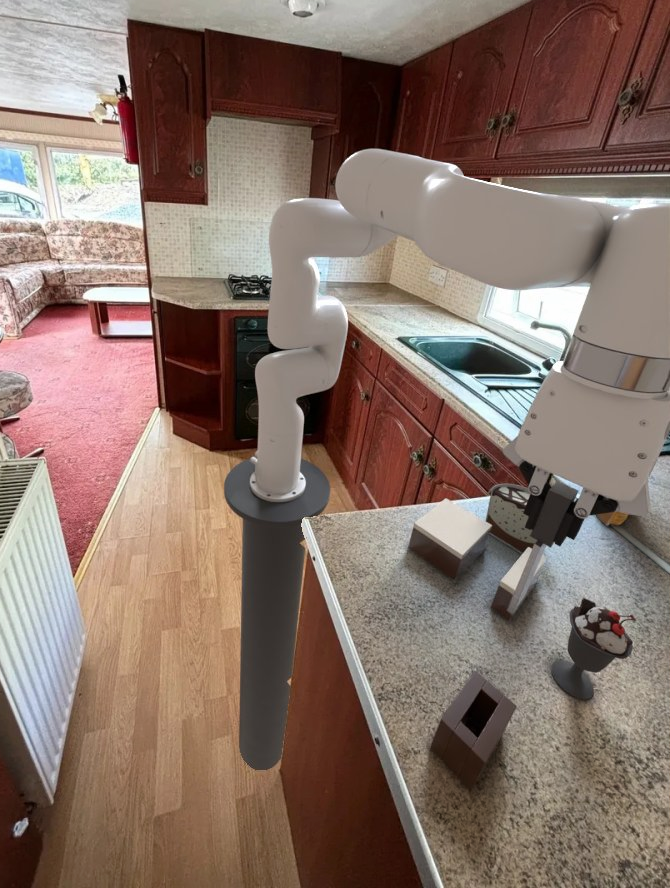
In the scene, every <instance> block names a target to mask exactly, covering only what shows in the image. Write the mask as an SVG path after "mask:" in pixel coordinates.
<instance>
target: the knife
mask: <svg viewBox="0 0 670 888" xmlns="http://www.w3.org/2000/svg"><path fill="white" fill-rule="evenodd" d="M578 494H579V490H578V489H576V488H574V487H571V486H570V485H567V484H565V483H563V482H560V481H558V480H555V482H554V483H553V484H551V488H550V489H549V490H548V493H547V495H546V498H545V500H544V504H543V506H542V509H541V511H540V514H539V516H538V519H537V521H536V524H535V526H534V529H533V530H532V532H531V535H530V536H531V537H532V538H534V539H536V540H537V541H536V543H535V544H534V546H533V548H532V551H531V553H530V556H529V558H528V560H527V563H526V565H525V568H524V570H523V573H522V575H521V577H520V580H519V582H518V585H517V587H516V589H515V592H514V594H513V597H512V599H511V602H510V604H509V606H508V609H507V611H508V612H509V613H511V614H513V612H514V611H515V609H516V608H517V606H518V605H519V603H520V602H521V600H522V599H523V597H524V596H525V594H526V592H527V590H528V587H529V585H530V583H531V581H532V578H533V576H534V574H535V571H536V569H537V567H538V564H539V562H540V560H541V557H542V555H543V556H544V553H545V551H546V548H547V547H549V548H552V547H553V545H555V542H553V540H554V537H555V535H556V533H557V530H558V528H559V526H560V524H561V521H562V519H563V517H564V514H565V513H566V512H567V511H568V509H569V508H570V506H571V505H572V504H573V502H574V501H576V499H577V496H578Z"/></svg>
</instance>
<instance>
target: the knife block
mask: <svg viewBox="0 0 670 888" xmlns="http://www.w3.org/2000/svg"><path fill="white" fill-rule="evenodd" d="M517 707H518V706H517V704H515V703H514V702H513V701H512V700H511V699H509V698H508V697H507V696H505V695H504V693H502V692H501V691H500V689H498V688H496V687H495V685H493V684H492V683H490V682H489V681H488V680H487V679H486V678H485V677H484V676H483V675H481V673H479V672H478V671H476V670H474V671H473V672H472V674H471V675H470V676H469V678H468V679H467V681H466V682H465V683H464V685H463V687H462V688H461V689H460V691H459V692H458V693H457V695H456V697H455V698H454V700H453V701H452V703H451V704H450V705H449V706H448V708H447V709H446V711H445V712H444V713H443V716H442V717H440V719H439V723H438V726H437V728H436V731H435V734H434V736H433V738H432V742H431V744H430V746H429V749H430V751H432V752H433V754H434V755H435V756H436V757H437V758H438V759H439V760H440V761H441V762H442V763H443V764H444V765H445V766H446V768H447V769H448V770H450V772H451V773H452V774H453V775H454V776H455V777H456V778H457V779H458V780H459V781H460V782H461V784H463V786H465V788H466V789H467V790H468V791H469V792H470V793H471V792H473V790H474V788H475V787H476V784H477V782H478V780H479V778H480V777H481V775H482V773H483V771H484V769H485V768H486V766H487V764H488V763H489V760H490V759H491V757H492V756H493V753H494V752H495V750H496V748H497V746H498V744H499V742H500V740H501V739H502V737H503V736H504V733H505V731H506V729H507V727H508V725H509V724H510V721H511V719H512V717H513V715H514V713H515V712H516V710H517ZM468 720H470V721H471V722H472V723H473V724H474V725H475V726H476V727H477V728H478V729H480V730H481V732H480V734H479V736H478V737H477V736H476V735H475V734H474V733H473V732H472V731H471V730H470V729H469V727H467V726H466V724H467V722H468Z"/></svg>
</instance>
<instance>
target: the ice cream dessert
mask: <svg viewBox="0 0 670 888" xmlns="http://www.w3.org/2000/svg"><path fill="white" fill-rule="evenodd" d="M486 494H487V495H490V496H489V502H488V506H487V512H486V515H485V521H486V522H487V523H489V524H491V525H492V528H491V530H490V533H489V535H491V536H492V537H494V538H495V539H497V540H498V541H500V542H501V543H503V544H505V545H507V546H508V547H509V548H510V549H511V548H512V549H513V550H515V551H516V552H517V553H519V554H521V555H522V554H523V553H524V551H525V550H526V549H527V548H528V547H530V548H531V549H532V548H533V546H534V544H535V543H536V541H537V540H536V539H534V538H532V537H531V536H530V535H531V532H532V530H529V529H527V528H525V525H526V522H527V520H528V517H529V516H527V515H525V514H523V512H524V510H525V507H526V504H527V502H528V499H529V497H530V494H531V493H530V492H529V491H528V487H525V486H522V485H519V484H514V483H499V484H495V485H493V486H492V487H491V488H490V489H489V490H488V492H487V493H486Z"/></svg>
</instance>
